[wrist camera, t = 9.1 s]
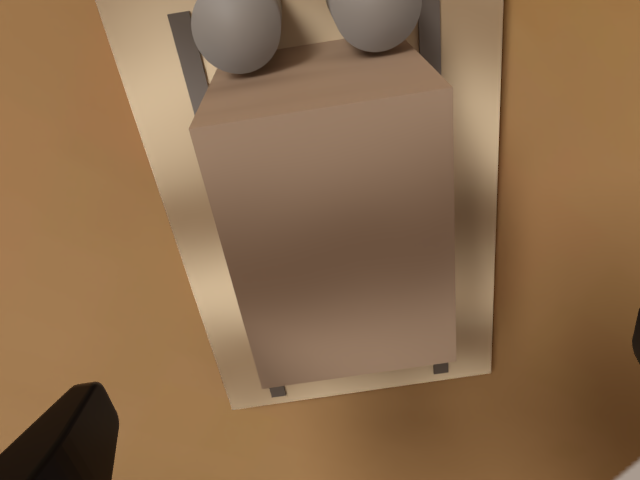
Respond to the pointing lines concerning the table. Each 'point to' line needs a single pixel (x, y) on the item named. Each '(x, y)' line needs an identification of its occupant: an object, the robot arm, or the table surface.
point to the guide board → (199, 220)
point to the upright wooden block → (335, 208)
